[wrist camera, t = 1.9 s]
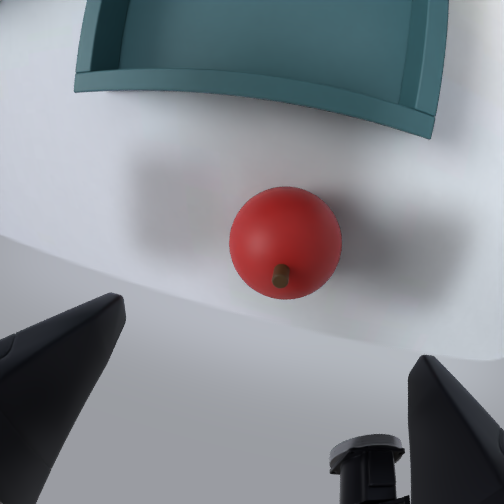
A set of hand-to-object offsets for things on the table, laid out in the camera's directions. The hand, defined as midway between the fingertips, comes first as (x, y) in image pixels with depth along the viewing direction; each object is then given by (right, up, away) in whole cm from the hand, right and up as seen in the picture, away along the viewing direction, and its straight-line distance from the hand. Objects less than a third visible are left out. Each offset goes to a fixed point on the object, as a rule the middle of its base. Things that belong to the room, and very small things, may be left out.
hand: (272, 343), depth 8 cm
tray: (+2, +28, -4) cm, 29 cm away
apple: (+1, +4, +8) cm, 9 cm away
